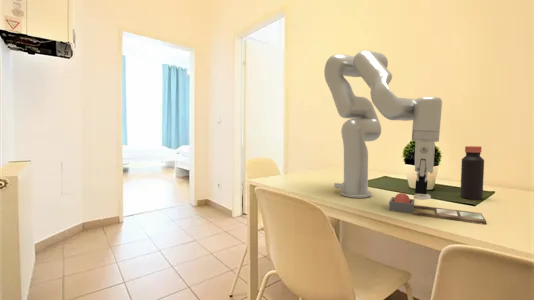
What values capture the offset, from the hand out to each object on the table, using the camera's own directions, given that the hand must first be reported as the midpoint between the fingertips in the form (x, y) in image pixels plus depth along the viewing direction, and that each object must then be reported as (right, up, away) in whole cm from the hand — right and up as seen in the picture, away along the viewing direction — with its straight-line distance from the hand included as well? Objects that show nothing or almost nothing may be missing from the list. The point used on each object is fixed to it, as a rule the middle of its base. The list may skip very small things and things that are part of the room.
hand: (420, 192), depth 85 cm
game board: (+6, -7, -4) cm, 10 cm away
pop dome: (-5, -5, +3) cm, 8 cm away
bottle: (+29, -5, +16) cm, 33 cm away
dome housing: (-5, -6, +3) cm, 8 cm away
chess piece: (0, -2, 0) cm, 2 cm away
